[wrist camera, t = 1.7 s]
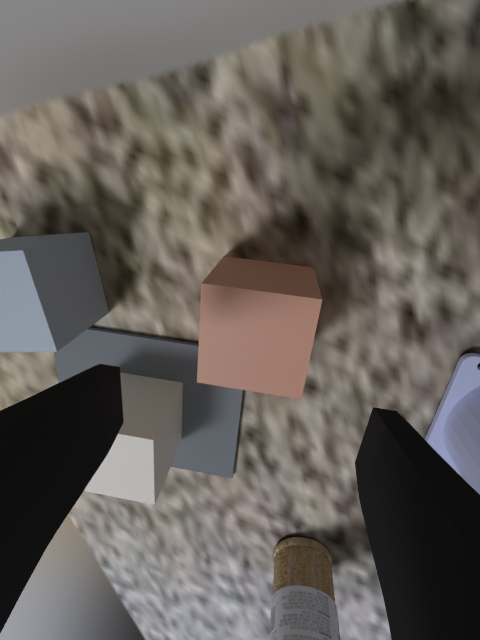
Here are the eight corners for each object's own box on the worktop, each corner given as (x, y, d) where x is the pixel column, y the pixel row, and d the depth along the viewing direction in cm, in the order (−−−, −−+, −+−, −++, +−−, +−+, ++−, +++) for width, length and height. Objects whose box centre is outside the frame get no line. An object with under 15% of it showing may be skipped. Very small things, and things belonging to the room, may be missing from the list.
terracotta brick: (313, 267, 16) (322, 299, 12) (298, 346, 18) (301, 399, 14) (224, 255, 17) (201, 282, 13) (218, 334, 19) (196, 382, 14)
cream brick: (182, 382, 20) (153, 440, 16) (181, 439, 22) (154, 504, 18) (111, 370, 20) (63, 423, 16) (115, 427, 22) (73, 488, 18)
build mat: (247, 350, 19) (247, 353, 19) (233, 474, 23) (232, 477, 23) (52, 321, 20) (49, 323, 20) (72, 444, 24) (69, 447, 24)
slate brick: (89, 231, 17) (22, 250, 13) (109, 311, 19) (56, 351, 15) (13, 236, 18) (-74, 255, 14) (39, 313, 20) (-31, 352, 16)
